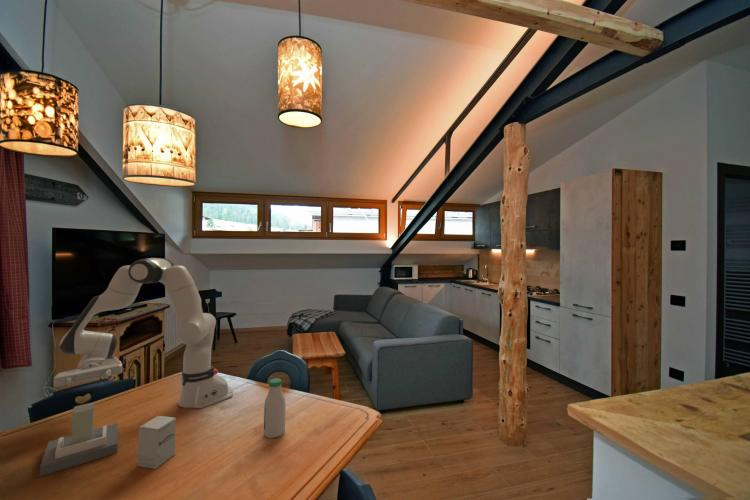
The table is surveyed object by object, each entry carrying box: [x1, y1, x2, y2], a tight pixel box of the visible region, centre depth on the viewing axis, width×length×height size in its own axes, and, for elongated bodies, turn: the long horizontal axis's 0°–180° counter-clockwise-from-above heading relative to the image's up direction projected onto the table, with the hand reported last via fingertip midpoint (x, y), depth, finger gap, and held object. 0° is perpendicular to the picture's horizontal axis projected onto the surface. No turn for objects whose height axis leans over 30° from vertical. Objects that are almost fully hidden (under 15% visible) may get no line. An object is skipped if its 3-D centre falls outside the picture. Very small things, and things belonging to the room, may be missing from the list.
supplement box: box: [137, 415, 177, 470], centre depth 101 cm, size 7×7×13 cm
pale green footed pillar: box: [71, 401, 95, 445], centre depth 105 cm, size 5×6×12 cm
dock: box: [39, 423, 118, 477], centre depth 105 cm, size 18×16×6 cm
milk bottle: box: [263, 377, 286, 439], centre depth 117 cm, size 8×8×20 cm
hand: (88, 379), depth 118 cm, fingers open, 8 cm apart
